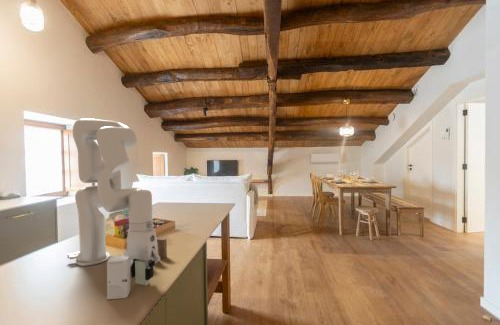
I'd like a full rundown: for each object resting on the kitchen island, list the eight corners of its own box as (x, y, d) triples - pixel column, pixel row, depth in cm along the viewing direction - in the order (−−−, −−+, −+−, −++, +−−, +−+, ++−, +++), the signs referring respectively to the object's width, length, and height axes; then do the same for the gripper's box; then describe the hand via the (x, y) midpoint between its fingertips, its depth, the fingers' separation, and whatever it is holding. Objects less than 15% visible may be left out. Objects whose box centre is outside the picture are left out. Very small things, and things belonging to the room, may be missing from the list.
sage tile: (146, 285, 89) (145, 262, 89) (135, 283, 90) (134, 260, 90) (149, 283, 90) (148, 260, 90) (138, 281, 92) (138, 259, 92)
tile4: (164, 258, 112) (164, 240, 111) (155, 257, 113) (155, 239, 113) (166, 257, 113) (166, 239, 113) (158, 255, 115) (157, 238, 114)
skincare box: (106, 300, 80) (105, 261, 80) (111, 292, 84) (110, 256, 84) (128, 297, 81) (127, 259, 81) (131, 290, 86) (130, 254, 85)
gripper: (168, 225, 90) (169, 276, 91) (130, 221, 96) (131, 269, 97) (153, 231, 83) (154, 286, 84) (113, 226, 89) (114, 278, 90)
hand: (142, 276), depth 90 cm, fingers open, 5 cm apart
